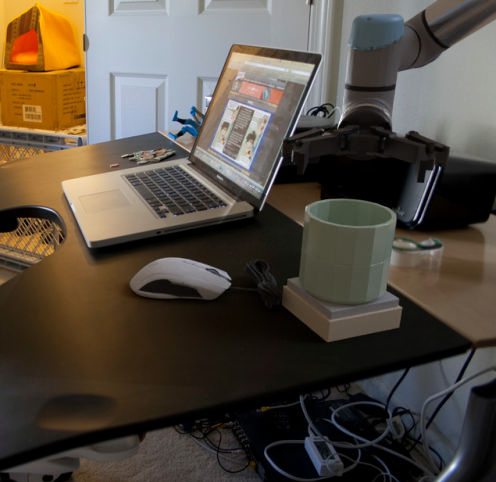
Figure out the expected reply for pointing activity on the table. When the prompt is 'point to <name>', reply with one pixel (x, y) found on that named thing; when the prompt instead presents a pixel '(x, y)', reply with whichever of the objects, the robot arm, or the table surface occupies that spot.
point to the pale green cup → (346, 250)
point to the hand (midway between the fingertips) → (359, 168)
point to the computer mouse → (199, 280)
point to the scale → (341, 313)
